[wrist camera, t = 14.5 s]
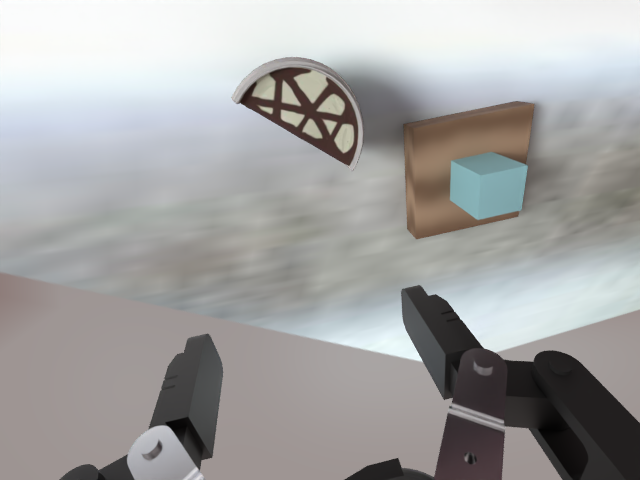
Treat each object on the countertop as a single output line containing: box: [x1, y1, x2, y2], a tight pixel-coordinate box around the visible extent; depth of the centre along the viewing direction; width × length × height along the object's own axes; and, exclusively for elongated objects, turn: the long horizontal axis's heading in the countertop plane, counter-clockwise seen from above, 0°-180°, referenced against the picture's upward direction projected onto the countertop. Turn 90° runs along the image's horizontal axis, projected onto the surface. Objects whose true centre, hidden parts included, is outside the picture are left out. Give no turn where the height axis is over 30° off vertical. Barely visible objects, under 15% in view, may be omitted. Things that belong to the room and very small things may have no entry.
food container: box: [231, 57, 364, 171], centre depth 31 cm, size 12×6×10 cm, turn 59°
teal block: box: [450, 152, 528, 220], centre depth 37 cm, size 5×5×6 cm
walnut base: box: [404, 101, 534, 239], centre depth 41 cm, size 14×14×3 cm
